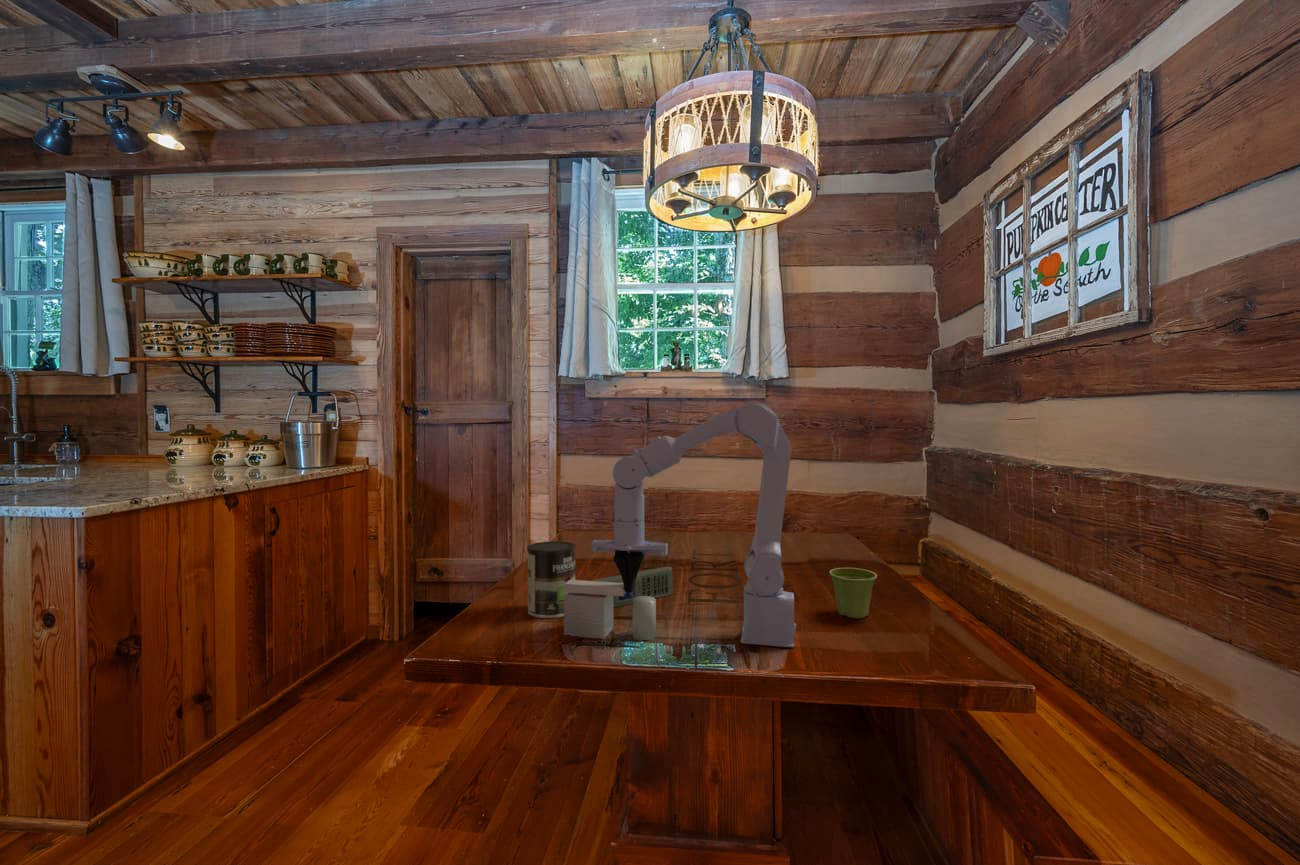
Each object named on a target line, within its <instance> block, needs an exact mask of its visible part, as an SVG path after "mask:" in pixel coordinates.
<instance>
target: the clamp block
mask: <svg viewBox="0 0 1300 865" xmlns="http://www.w3.org/2000/svg"><path fill="white" fill-rule="evenodd" d="M614 627H615V626H614V608H613V595H598V594H584V593H567V594H566V595H565V596H564V617H563V636H565V635H570V636H569V637H576V636H579V637H578V638H589V639H590V638H591V639H601V640H605V639H606V637H607V636H608V635H609V634H610V633H611V631H613V629H614Z"/></svg>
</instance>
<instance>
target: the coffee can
mask: <svg viewBox="0 0 1300 865" xmlns="http://www.w3.org/2000/svg"><path fill="white" fill-rule="evenodd" d="M576 546H577V545H576V544H575V543H573V542H570V541H562V540H561V541H556V540H555V541H539V542H536V543H532V544H530V545H527V549H526V550H527V583H528V584H527V589H528V590H527V597H528V599H527V601H528V602H527V614H528V615H530V616H532V617H534V618H538V619H558V618H564V596H565V595H566V594H567V593H569V592H564V584H565V583H566V582H568V581H569V580H576V548H577V547H576Z"/></svg>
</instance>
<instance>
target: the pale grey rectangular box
mask: <svg viewBox="0 0 1300 865" xmlns="http://www.w3.org/2000/svg"><path fill="white" fill-rule="evenodd" d="M564 592H569V593H584V594H598V595H613V596H623V595H624V594H625V593H626V592H625V589H624V584H623V583H614V582H598V581H594V580H581V579H575V580H569V581H568V582H566V583H565V584H564Z"/></svg>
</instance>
